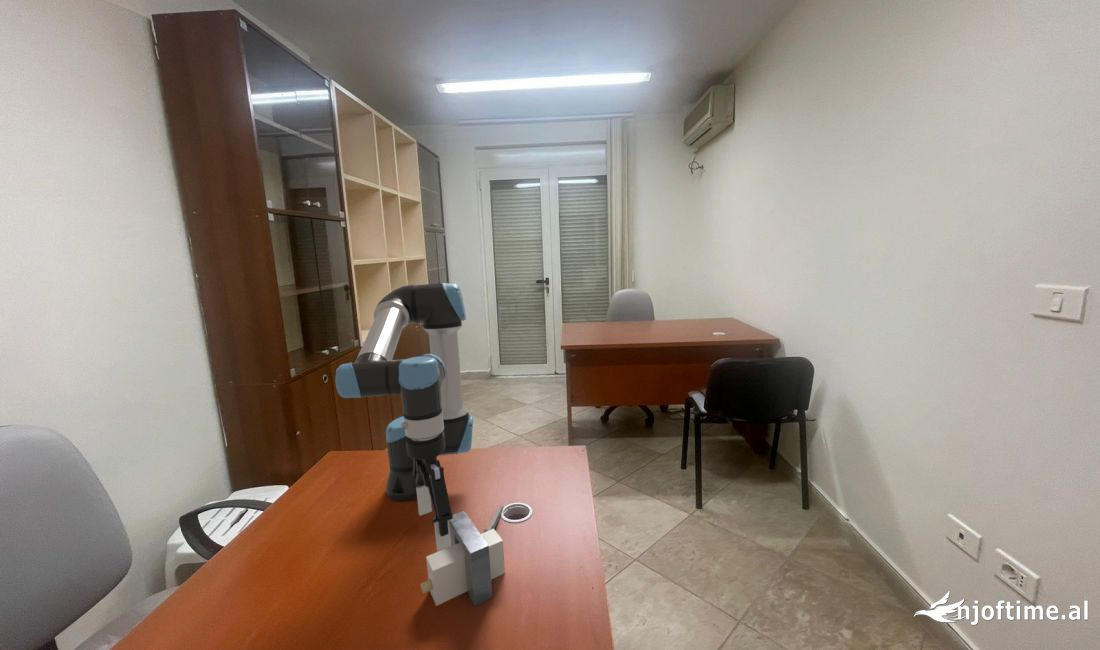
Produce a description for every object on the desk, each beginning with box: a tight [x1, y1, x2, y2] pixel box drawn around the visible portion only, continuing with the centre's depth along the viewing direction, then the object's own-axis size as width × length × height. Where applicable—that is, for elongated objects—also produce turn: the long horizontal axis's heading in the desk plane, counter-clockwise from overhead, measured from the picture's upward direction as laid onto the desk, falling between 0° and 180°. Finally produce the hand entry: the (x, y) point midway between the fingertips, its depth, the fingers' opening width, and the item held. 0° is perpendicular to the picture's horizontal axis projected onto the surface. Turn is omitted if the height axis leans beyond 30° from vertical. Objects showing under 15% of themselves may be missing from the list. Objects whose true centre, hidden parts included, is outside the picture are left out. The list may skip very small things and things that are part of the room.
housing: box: [449, 510, 493, 607], centre depth 91 cm, size 14×4×12 cm, turn 32°
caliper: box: [482, 505, 504, 533], centre depth 109 cm, size 20×1×6 cm, turn 175°
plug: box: [420, 528, 506, 607], centre depth 91 cm, size 5×18×8 cm, turn 122°
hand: (434, 529), depth 86 cm, fingers open, 13 cm apart
